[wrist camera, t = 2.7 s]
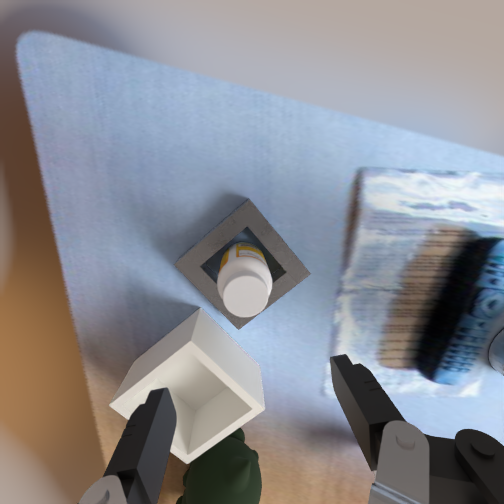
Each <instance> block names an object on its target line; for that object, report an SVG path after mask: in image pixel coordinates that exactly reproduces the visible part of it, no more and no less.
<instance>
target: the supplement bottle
mask: <svg viewBox="0 0 504 504" xmlns="http://www.w3.org/2000/svg"><path fill="white" fill-rule="evenodd" d="M217 287H218V292H219V294H220V296H221V298H222V299H223V302H224V305H225V307H226V308H227V310H228V311H229V312H231V313H232V314H234V315H236V316H239V317H252V316H255V315H257V314H258V313H260V312H261V311H262V310H263V309H264V308H265V306H266V305H267V302H268V297H269V295H270V293H271V290H272V277H271V273H270V271H269V268H268V266H267V263H266V260H265V257H264V255H263V253H262V251H261V250H260V249H259V248H258V247H257V246H255V245H253V244H251V243H247V242H239V243H236V244H233V245H232V246H230V247H229V248H228V249H227V250H226V251H225V252H224V254H223V256H222V260H221V265H220V269H219V274H218V280H217Z"/></svg>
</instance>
